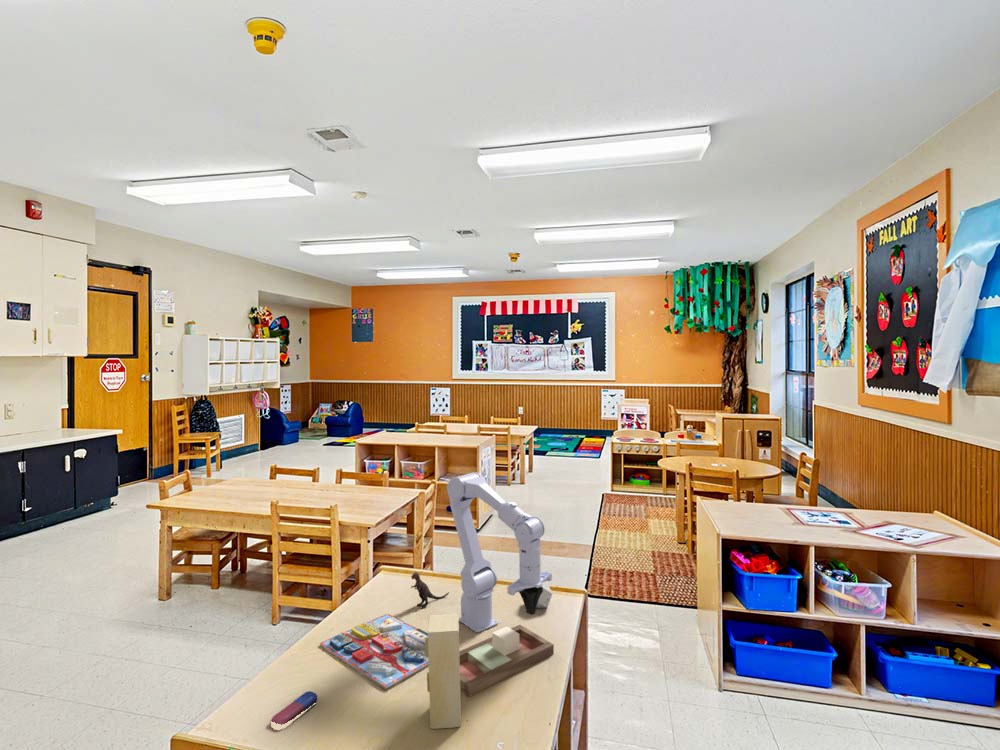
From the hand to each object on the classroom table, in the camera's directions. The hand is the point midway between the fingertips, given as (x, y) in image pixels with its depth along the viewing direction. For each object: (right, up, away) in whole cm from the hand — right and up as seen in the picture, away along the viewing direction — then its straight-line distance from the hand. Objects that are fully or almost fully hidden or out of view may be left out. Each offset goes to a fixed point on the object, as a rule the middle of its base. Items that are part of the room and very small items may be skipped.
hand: (530, 613), depth 144 cm
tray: (-9, -9, -7) cm, 15 cm away
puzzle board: (-39, -10, 0) cm, 40 cm away
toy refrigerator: (-21, -11, -27) cm, 36 cm away
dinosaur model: (-31, -9, +26) cm, 41 cm away
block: (-7, -7, -5) cm, 11 cm away
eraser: (-54, -11, -26) cm, 61 cm away
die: (+4, -8, +23) cm, 25 cm away
